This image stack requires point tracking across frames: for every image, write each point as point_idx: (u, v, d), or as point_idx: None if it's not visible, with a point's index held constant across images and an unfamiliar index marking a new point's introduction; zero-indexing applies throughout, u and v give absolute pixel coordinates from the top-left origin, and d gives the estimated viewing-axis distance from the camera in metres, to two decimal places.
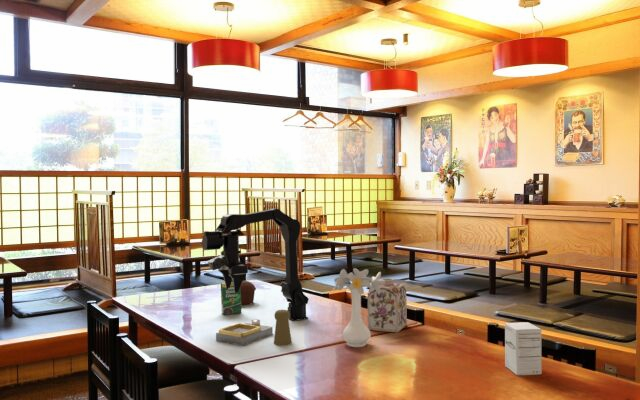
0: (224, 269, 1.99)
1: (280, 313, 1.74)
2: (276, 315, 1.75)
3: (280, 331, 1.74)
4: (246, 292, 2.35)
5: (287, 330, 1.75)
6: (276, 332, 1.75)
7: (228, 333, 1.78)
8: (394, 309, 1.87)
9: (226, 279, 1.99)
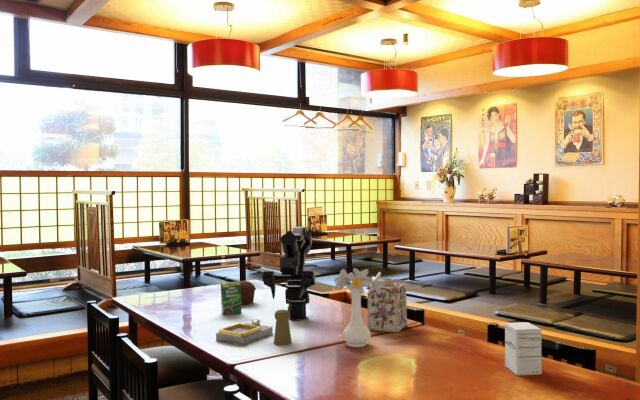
0: None
1: (280, 313, 1.74)
2: (276, 315, 1.75)
3: (280, 331, 1.74)
4: (246, 292, 2.35)
5: (287, 330, 1.75)
6: (276, 332, 1.75)
7: (228, 333, 1.78)
8: (394, 309, 1.87)
9: (274, 289, 1.87)
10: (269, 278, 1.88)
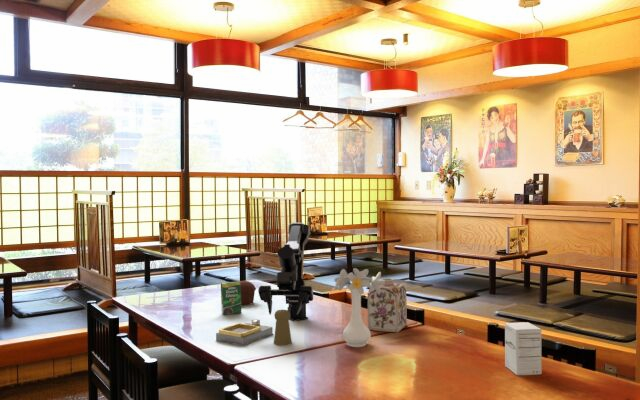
0: (269, 294, 1.83)
1: (280, 313, 1.74)
2: (276, 315, 1.75)
3: (280, 331, 1.74)
4: (246, 292, 2.35)
5: (287, 330, 1.75)
6: (276, 332, 1.75)
7: (228, 333, 1.78)
8: (394, 309, 1.87)
9: (270, 304, 1.81)
10: (266, 293, 1.82)
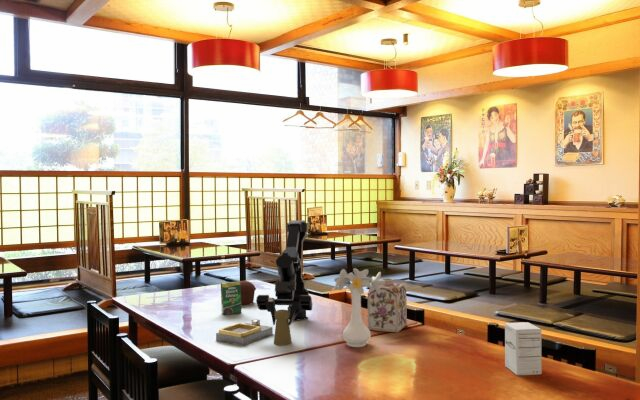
0: (273, 304, 1.80)
1: (280, 313, 1.74)
2: (276, 315, 1.75)
3: (280, 331, 1.74)
4: (246, 292, 2.35)
5: (287, 330, 1.75)
6: (276, 332, 1.75)
7: (228, 333, 1.78)
8: (394, 309, 1.87)
9: (274, 314, 1.77)
10: (269, 303, 1.78)
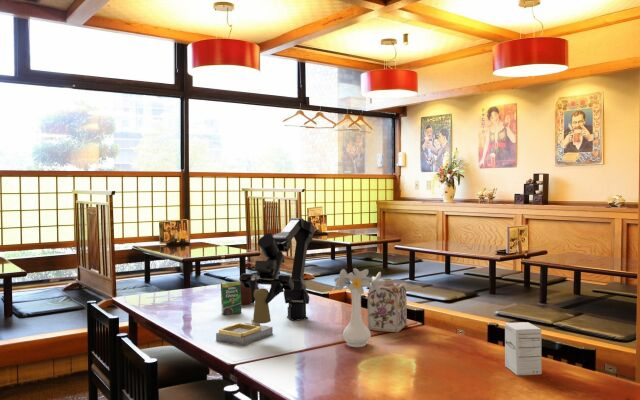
0: (255, 283, 1.83)
1: (257, 291, 1.77)
2: (254, 293, 1.78)
3: (257, 309, 1.77)
4: (246, 292, 2.35)
5: (264, 309, 1.77)
6: (254, 310, 1.78)
7: (228, 333, 1.78)
8: (394, 309, 1.87)
9: None
10: (250, 281, 1.81)
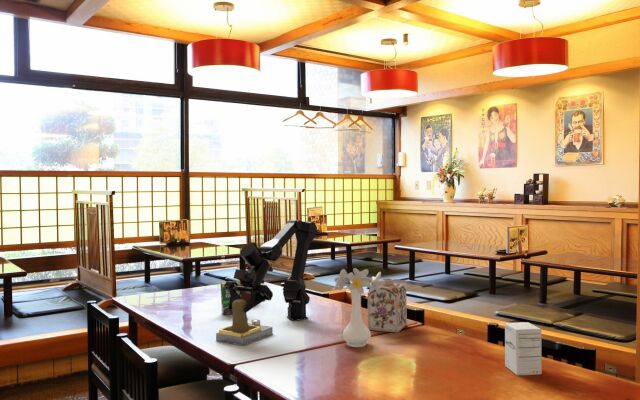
0: (235, 290, 1.87)
1: (235, 302, 1.80)
2: (232, 304, 1.81)
3: (234, 320, 1.80)
4: None
5: (241, 319, 1.80)
6: None
7: (228, 333, 1.78)
8: (394, 309, 1.87)
9: (232, 300, 1.84)
10: (230, 289, 1.86)
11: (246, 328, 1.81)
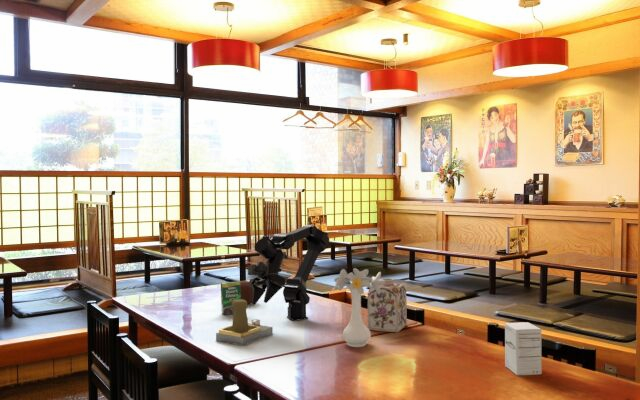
0: (256, 285, 1.98)
1: (235, 302, 1.80)
2: (232, 304, 1.81)
3: (234, 320, 1.80)
4: (246, 292, 2.35)
5: (241, 319, 1.80)
6: (233, 320, 1.82)
7: (228, 333, 1.78)
8: (394, 309, 1.87)
9: (255, 295, 1.96)
10: (251, 285, 1.97)
11: (246, 328, 1.81)
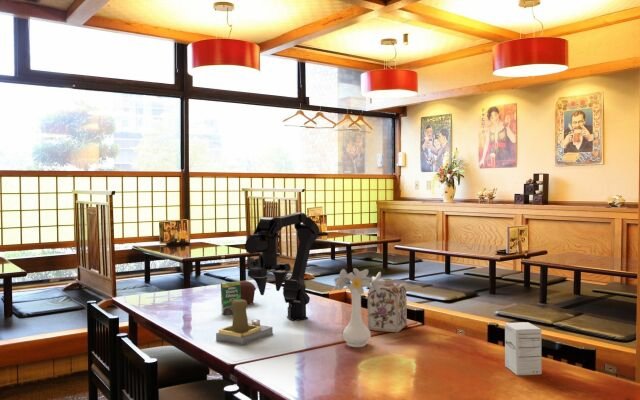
0: (276, 271, 2.01)
1: (235, 302, 1.80)
2: (232, 304, 1.81)
3: (234, 320, 1.80)
4: (246, 292, 2.35)
5: (241, 319, 1.80)
6: None
7: (228, 333, 1.78)
8: (394, 309, 1.87)
9: (276, 281, 2.00)
10: None
11: (246, 328, 1.81)
